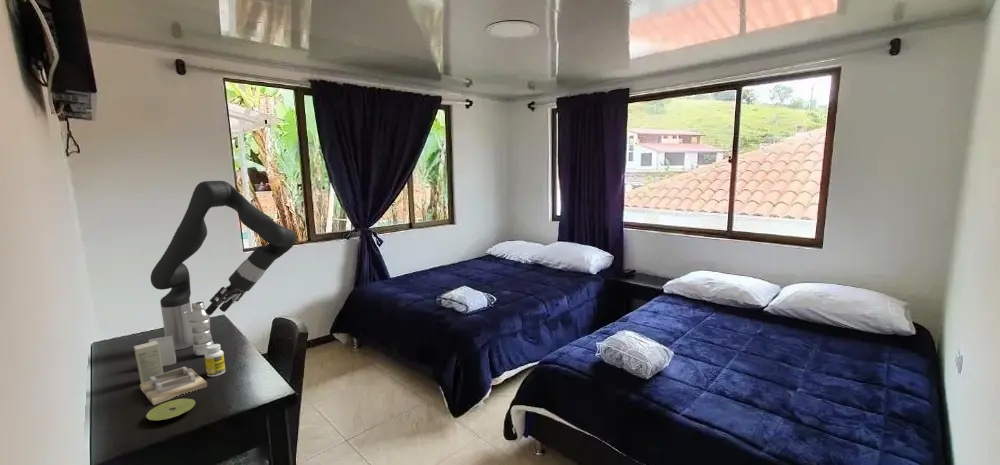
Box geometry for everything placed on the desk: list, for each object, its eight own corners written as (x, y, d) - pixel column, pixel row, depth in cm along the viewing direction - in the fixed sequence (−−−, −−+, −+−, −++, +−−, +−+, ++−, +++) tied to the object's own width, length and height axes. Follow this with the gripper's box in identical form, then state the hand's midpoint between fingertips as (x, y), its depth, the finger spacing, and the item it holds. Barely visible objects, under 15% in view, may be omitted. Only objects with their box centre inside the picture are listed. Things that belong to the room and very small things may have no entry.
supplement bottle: (216, 377, 147) (213, 349, 146) (203, 376, 148) (199, 348, 147) (229, 370, 153) (226, 343, 151) (216, 369, 154) (212, 342, 152)
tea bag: (175, 363, 159) (171, 337, 158) (152, 368, 155) (147, 341, 154) (176, 359, 162) (172, 334, 161) (153, 364, 159) (149, 338, 157)
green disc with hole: (184, 400, 133) (183, 394, 133) (204, 410, 127) (203, 404, 127) (139, 419, 123) (138, 413, 123) (158, 430, 118) (157, 424, 117)
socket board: (140, 388, 141) (138, 376, 140) (191, 372, 152) (190, 361, 151) (153, 405, 131) (151, 392, 130) (207, 386, 141) (205, 374, 141)
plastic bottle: (215, 354, 166) (208, 303, 163) (193, 359, 162) (186, 307, 159) (214, 349, 171) (208, 299, 168) (193, 353, 167) (186, 302, 164)
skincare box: (162, 374, 151) (157, 340, 149) (164, 378, 148) (159, 343, 146) (138, 380, 147) (133, 345, 145) (140, 385, 143) (134, 349, 142)
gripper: (249, 266, 156) (217, 302, 155) (228, 267, 142) (192, 307, 141) (266, 280, 156) (234, 316, 155) (246, 282, 142) (211, 322, 141)
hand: (214, 311), depth 148 cm, fingers open, 8 cm apart
